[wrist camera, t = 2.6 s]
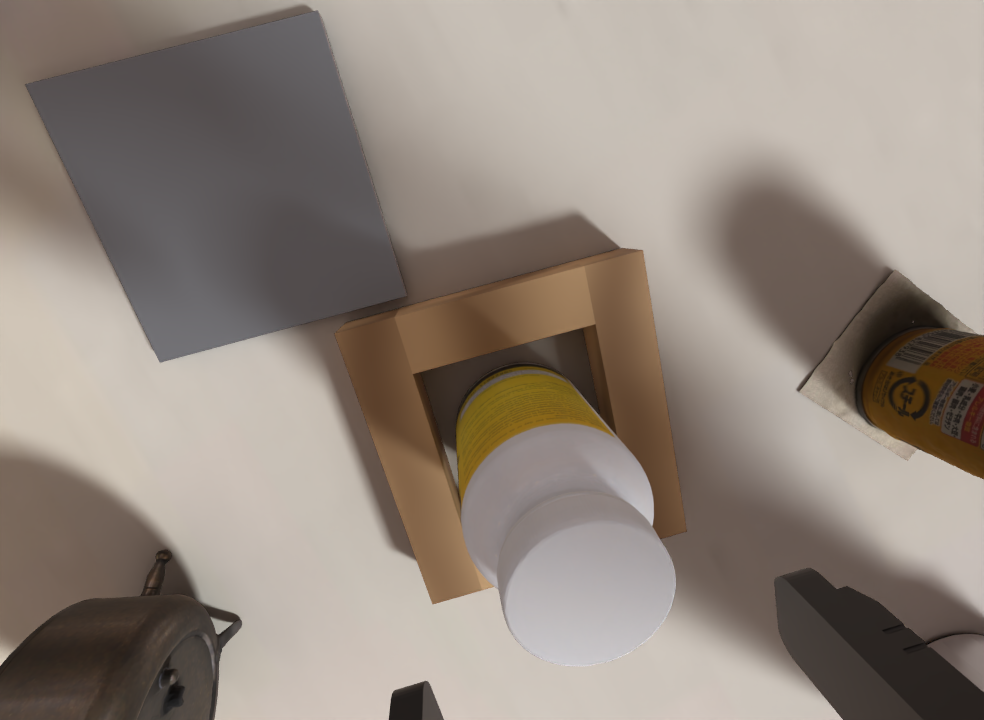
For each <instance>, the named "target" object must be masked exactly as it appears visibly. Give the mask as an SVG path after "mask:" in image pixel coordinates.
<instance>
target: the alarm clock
mask: <svg viewBox="0 0 984 720" xmlns="http://www.w3.org/2000/svg"><path fill="white" fill-rule="evenodd" d="M170 559H171V552H170V551H168V550H163V551H159V552H158V553H157V554H156V563H155V564H154V566H153V568H152V569H151V571H150V572H149V574H148V576H147V580H146V583H145V586H144V589H143V592H142V594H141V596H139V597H124V598H105V599H102V598H95V599H88V600H84V601H81V602H79V603H76V604H74V605H71V606H69V607H67V608H66V609H64V610H62V611H60V612H59V613H57V614H56V615H54V616H53V617H51V618H50V619H49V620H47V621H46V622H45V623H43V624H42V625H41V626H40V627H39V628H37V629H36V630H35V631H34V632H33V633H31V634H30V635H29V636H28V637H27V638H26V639H25V640H24V641H23V642H22V643H21V644H20V645H19V646H18V648H17V649H16V650H14V651H13V652H12V653H11V654H10V655H9V656H8V658H7V659H6V660H5V661H4V662H3V663H2V665H1V666H0V720H214V718H215V711H216V704H217V695H218V681H219V660H220V654H221V652H222V648H223V647H224V646H225V645H226V643H227V642H228V641H229V640H230V639H231V638H232V637H233V636H234V635H235V634H236V633H237V632H238V630H239V629H240V628H241V626H242V621H241V620H237V621H235V622H234V623H233V624H232V625H231V626H229V627H228V628H227V629H226V630H224V631H223V632H222V633H221V634H219V635H218V634H216V632H215V628H214V625H213V623H212V620H211V618H210V616H209V614H208V612H207V611H206V609H205V608H204V607H203V606H202V605H201V604H200V603H199V602H198V601H196V600H195V599H193V598H191V597H189V596H185V595H181V594H173V595H160V590H161V587H162V584H163V580H164V575H165V564H166V563H167V562H168V561H169V560H170Z"/></svg>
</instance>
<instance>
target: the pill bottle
mask: <svg viewBox="0 0 984 720" xmlns="http://www.w3.org/2000/svg"><path fill="white" fill-rule="evenodd" d="M456 446H457V464H458V480H459V496H460V510H461V524H462V531H463V537H464V541H465V544H466V547H467V550H468V553H469V555H470V557H471V559H472V561H473V563H474V564H475V566H476V567H477V569H478V570H479V571H480V573H481V574H482V575H483V576H484V577H485V578H486V580H487V581H488V582H490V583H491V584H492V585H493V586H494V587H496V588H497V589H498V590H499V594H500V599H501V605H502V610H503V614H504V618H505V621H506V623H507V626H508V628H509V630H510V632H511V633H512V635H513V636H514V638H515V640H516V641H517V642H518V643H519V644H520V645H521V646H522V647H523V648H524V649H525V650H527V651H528V652H530V653H531V654H533V655H534V656H536V657H538V658H540V659H542V660H545V661H548V662H551V663H554V664H558V665H564V666H590V665H597V664H601V663H606V662H609V661H613V660H615V659H618V658H620V657H622V656H624V655H626V654H628V653H630V652H631V651H633V650H635V649H636V648H638V647H639V646H640V645H642V644H643V643H645V642H646V641H647V640H648V639H649V638H650V637H651V636H652V635H653V634H654V633H655V632H656V631H657V630H658V629H659V628H660V626H661V625H662V623H663V622H664V620H665V619H666V617H667V615H668V613H669V611H670V608H671V606H672V603H673V599H674V595H675V589H676V576H675V569H674V565H673V562H672V560H671V557H670V555H669V553H668V551H667V549H666V548H665V546H664V545H663V543H662V541H661V540H660V538H659V537H658V535H657V533H656V532H655V530H654V528H653V527H652V525H653V519H654V502H653V495H652V490H651V486H650V483H649V481H648V478H647V476H646V474H645V472H644V470H643V468H642V466H641V465H640V463H639V462H638V460H637V459H636V458H635V456H634V455H633V454H632V453H631V452H630V451H629V449H628V448H627V447H626V446H625V445H624V444H623V443H622V441H621V440H620V439H619V438H618V437H617V436H616V435H615V433H614V432H613V431H612V430H611V429H610V427H609V426H608V425H607V424H606V423H605V422H604V420H603V419H602V418H601V417H600V416H599V415H598V413H597V412H596V411H595V410H594V409H593V408H592V407H591V405H590V404H589V403H588V402H587V401H586V399H585V398H584V397H583V396H582V394H581V393H580V392H579V391H578V389H577V388H576V387H575V386H574V385H573V384H572V383H571V382H570V380H569V379H567V378H566V377H565V376H564V375H562V374H561V373H559V372H558V371H556V370H554V369H552V368H549V367H547V366H544V365H540V364H535V363H514V364H508V365H505V366H502V367H499V368H497V369H494V370H492V371H490V372H489V373H487V374H486V375H484V376H483V377H481V378H480V379H479V380H478V381H477V382H476V383H475V384H474V385H473V386H472V387H471V388H470V389H469V391H468V392H467V394H466V395H465V397H464V398H463V400H462V402H461V405H460V407H459V410H458V414H457V419H456Z"/></svg>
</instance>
